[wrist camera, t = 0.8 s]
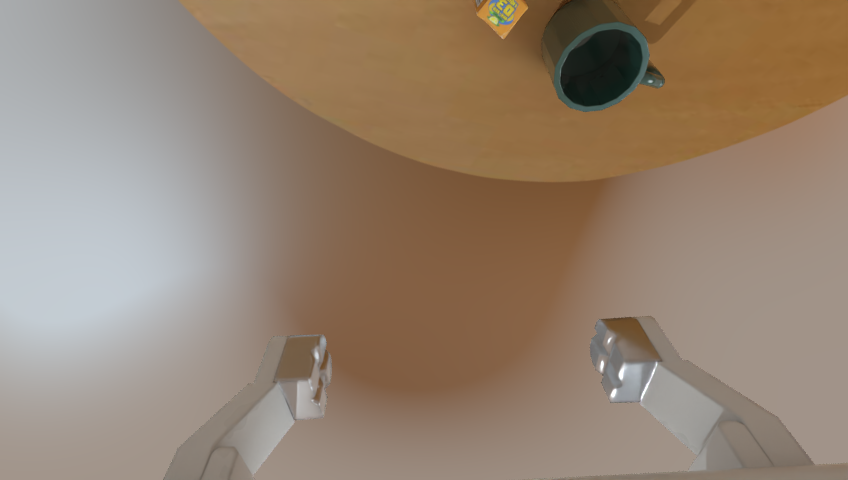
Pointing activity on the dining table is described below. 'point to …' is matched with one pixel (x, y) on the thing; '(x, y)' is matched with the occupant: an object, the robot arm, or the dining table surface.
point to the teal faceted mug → (596, 55)
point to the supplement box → (500, 13)
